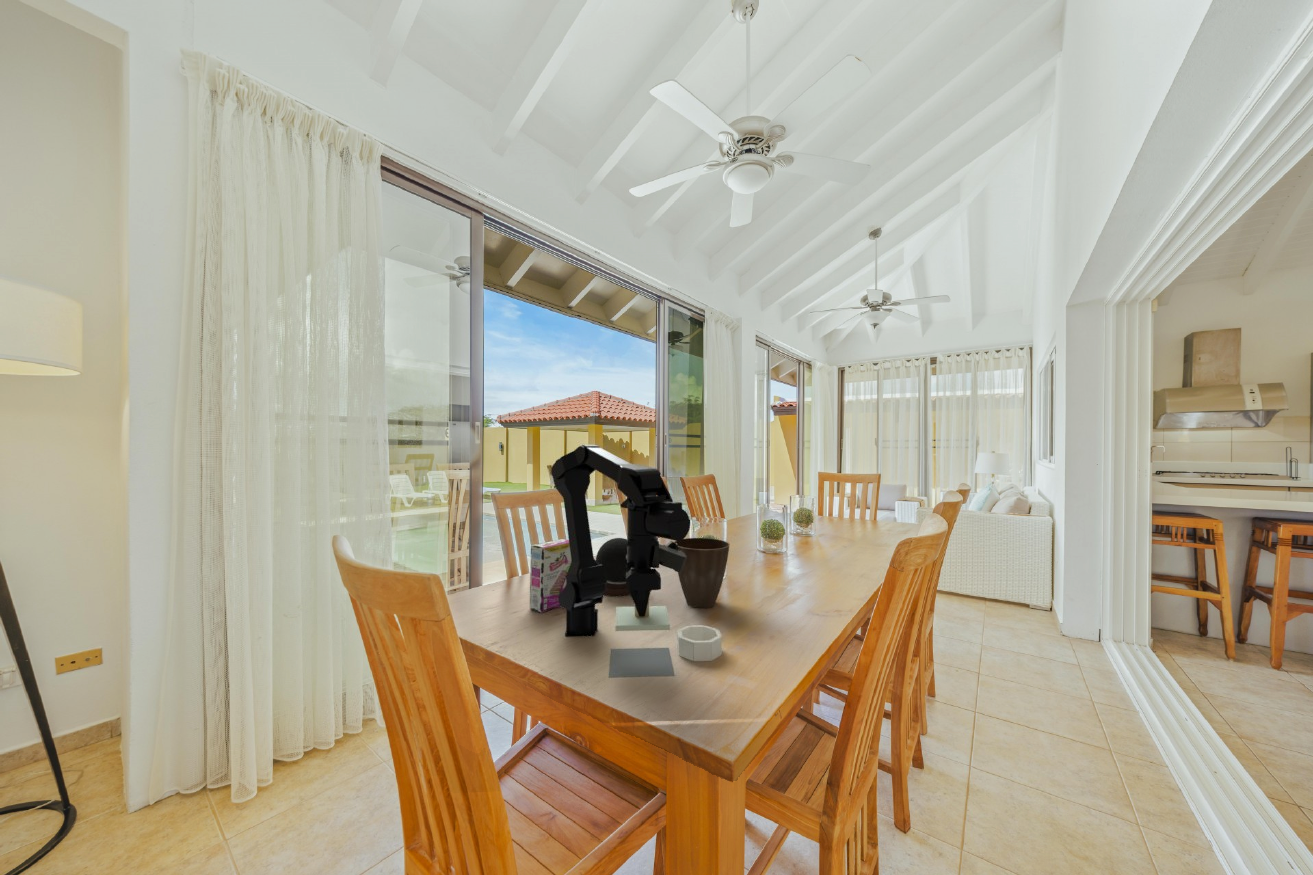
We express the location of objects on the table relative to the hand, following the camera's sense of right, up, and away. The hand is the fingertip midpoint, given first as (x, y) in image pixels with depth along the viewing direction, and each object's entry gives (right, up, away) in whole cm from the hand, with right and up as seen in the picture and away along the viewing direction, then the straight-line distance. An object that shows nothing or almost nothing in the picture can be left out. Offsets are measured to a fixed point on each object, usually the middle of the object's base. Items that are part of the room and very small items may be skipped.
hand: (641, 613), depth 95 cm
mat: (0, -10, 0) cm, 10 cm away
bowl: (+12, -10, +5) cm, 16 cm away
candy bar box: (-24, -10, +33) cm, 42 cm away
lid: (0, -1, 0) cm, 1 cm away
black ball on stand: (-8, -10, +46) cm, 48 cm away
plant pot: (+15, -10, +35) cm, 39 cm away
